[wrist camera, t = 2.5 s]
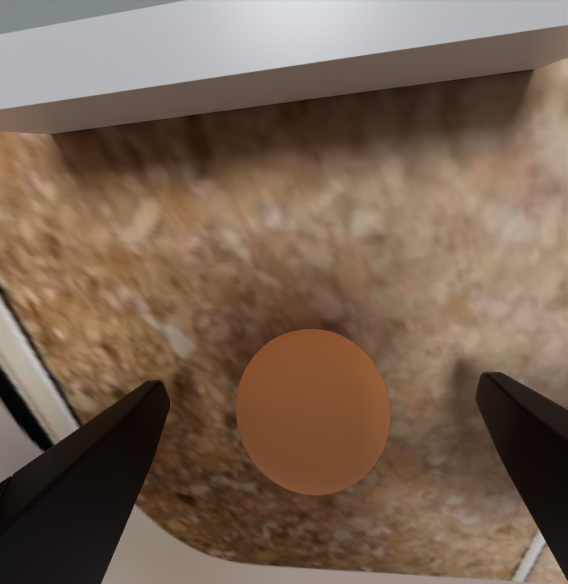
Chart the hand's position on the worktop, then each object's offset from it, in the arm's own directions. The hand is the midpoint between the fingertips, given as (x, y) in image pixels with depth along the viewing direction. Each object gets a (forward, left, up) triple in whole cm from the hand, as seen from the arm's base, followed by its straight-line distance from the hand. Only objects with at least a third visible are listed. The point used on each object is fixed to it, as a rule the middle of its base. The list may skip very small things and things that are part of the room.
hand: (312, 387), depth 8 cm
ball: (0, 0, -1) cm, 1 cm away
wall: (+7, 0, -1) cm, 8 cm away
